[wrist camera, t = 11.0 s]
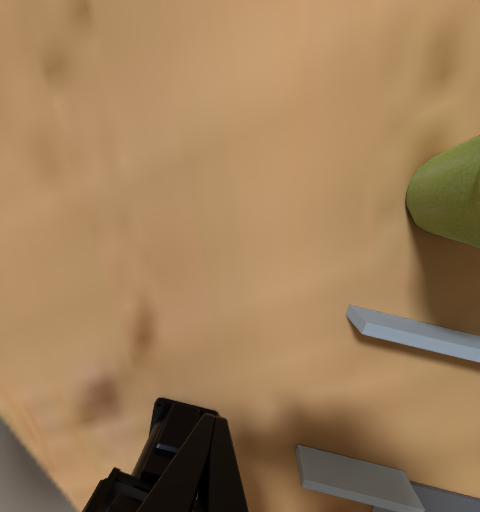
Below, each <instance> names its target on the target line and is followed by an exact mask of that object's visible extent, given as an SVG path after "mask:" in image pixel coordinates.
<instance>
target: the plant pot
mask: <svg viewBox="0 0 480 512" xmlns="http://www.w3.org/2000/svg"><path fill="white" fill-rule="evenodd" d="M406 204H407V208H408V209H409V211H410V213H411V215H412V217H413V220H414V223H415V224H416V225H417V226H418V227H420V228H421V229H423V230H425V231H427V232H430V233H433V234H436V235H439V236H443V237H446V238H449V239H452V240H456V241H459V242H462V243H465V244H468V245H471V246H474V247H477V248H480V135H479V136H477V137H475V138H472V139H470V140H468V141H466V142H464V143H462V144H460V145H457V146H455V147H453V148H451V149H449V150H447V151H445V152H442V153H440V154H438V155H437V156H435V157H433V158H432V159H430V160H429V161H427V162H426V163H425V164H423V165H422V166H421V167H420V168H419V169H418V171H417V172H416V173H415V175H414V176H413V178H412V180H411V182H410V184H409V187H408V190H407V196H406Z"/></svg>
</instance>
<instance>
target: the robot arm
mask: <svg viewBox="0 0 480 512" xmlns="http://www.w3.org/2000/svg"><path fill="white" fill-rule="evenodd" d="M120 470H121V469H118V468H115V467H114V468H113V470H112V472H111V473H110V475H109V477H108V478H105V479H104V480H100V482H99V484H98V485H97V487H96V489H95V491H94V492H93V494H92V496H91V498H90V499H89V501H88V503H87V504H86V506H85V508H84V509H83V511H82V512H249V511H248V507H247V502H246V498H245V494H244V490H243V485H242V481H241V477H240V473H239V468H238V464H237V460H236V456H235V451H234V447H233V443H232V439H231V434H230V430H229V426H228V422H227V419H226V418H223V417H219V416H218V414H217V412H215V411H212V410H208V409H204V408H200V407H196V406H192V405H188V404H184V403H180V402H176V401H172V400H168V399H164V398H158V399H157V400H156V402H155V404H154V409H153V415H152V421H151V427H150V433H149V438H148V440H147V442H146V444H145V446H144V449H143V451H142V453H141V455H140V457H139V459H138V461H137V464H136V466H135V468H134V470H133V472H132V474H131V475H129V474H127V473H124V472H121V471H120ZM198 490H199V491H198ZM197 494H198V497H197ZM196 498H197V500H196Z"/></svg>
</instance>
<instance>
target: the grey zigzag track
mask: <svg viewBox="0 0 480 512" xmlns="http://www.w3.org/2000/svg"><path fill="white" fill-rule="evenodd" d="M346 316H347V317H348V318H349V319H350V321H351V322H352V323H353V324H354V325H355V326H356V328H357V329H358V330H359V331H360V332H361V334H363V335H368V336H372V337H376V338H380V339H384V340H388V341H392V342H397V343H401V344H405V345H409V346H413V347H417V348H421V349H426V350H430V351H434V352H438V353H442V354H446V355H450V356H455V357H459V358H463V359H467V360H471V361H475V362H480V336H478V335H474V334H469V333H465V332H461V331H457V330H453V329H448V328H444V327H440V326H436V325H432V324H428V323H423V322H419V321H415V320H411V319H407V318H402V317H398V316H394V315H390V314H386V313H382V312H377V311H373V310H369V309H365V308H361V307H356V306H352V305H349V308H348V311H347V314H346ZM296 458H297V464H298V470H299V476H300V482H301V487H302V488H306V489H310V490H314V491H318V492H321V493H325V494H329V495H333V496H337V497H341V498H345V499H349V500H353V501H357V502H361V503H365V504H369V505H373V506H374V508H373V510H372V512H480V499H478V498H474V497H470V496H466V495H462V494H458V493H454V492H450V491H446V490H442V489H438V488H434V487H430V486H426V485H422V484H418V483H414V482H410V481H409V480H408V478H407V477H406V475H405V473H404V471H402V470H398V469H394V468H390V467H386V466H382V465H378V464H374V463H370V462H366V461H362V460H358V459H354V458H350V457H346V456H342V455H338V454H334V453H330V452H326V451H322V450H318V449H314V448H310V447H306V446H302V445H298V446H297V449H296Z"/></svg>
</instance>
